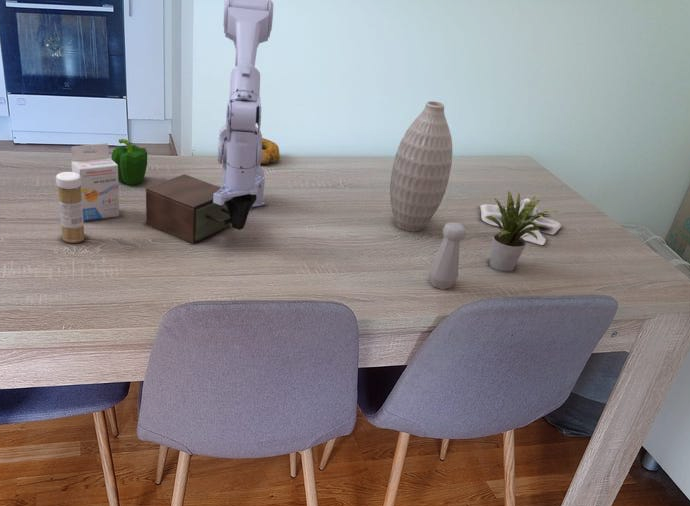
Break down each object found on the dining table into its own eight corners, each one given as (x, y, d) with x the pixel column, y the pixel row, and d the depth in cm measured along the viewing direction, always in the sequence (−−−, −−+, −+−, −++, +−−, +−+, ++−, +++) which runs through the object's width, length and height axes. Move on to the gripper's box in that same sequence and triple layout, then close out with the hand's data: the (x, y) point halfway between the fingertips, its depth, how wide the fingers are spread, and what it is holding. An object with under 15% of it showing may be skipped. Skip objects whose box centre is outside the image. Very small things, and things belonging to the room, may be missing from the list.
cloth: (464, 209, 178) (470, 186, 175) (521, 203, 186) (528, 181, 182) (522, 248, 162) (530, 223, 159) (582, 240, 170) (591, 216, 166)
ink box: (82, 222, 151) (77, 154, 142) (74, 213, 154) (69, 146, 145) (120, 216, 155) (117, 150, 146) (111, 207, 158) (108, 142, 150)
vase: (442, 223, 169) (471, 103, 153) (428, 242, 160) (457, 116, 143) (392, 210, 173) (415, 91, 157) (375, 228, 163) (398, 103, 147)
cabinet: (229, 226, 156) (231, 191, 151) (192, 243, 147) (193, 207, 143) (183, 208, 162) (184, 174, 157) (146, 224, 153) (145, 188, 148)
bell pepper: (155, 181, 173) (155, 141, 167) (132, 190, 167) (131, 148, 161) (129, 172, 176) (128, 132, 171) (106, 180, 170) (104, 139, 165)
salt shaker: (423, 276, 146) (437, 217, 138) (450, 277, 146) (465, 219, 139) (430, 290, 141) (445, 230, 134) (458, 291, 142) (474, 232, 134)
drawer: (248, 232, 153) (250, 203, 149) (216, 248, 145) (217, 218, 141) (187, 208, 160) (187, 180, 156) (153, 222, 152) (152, 192, 148)
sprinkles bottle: (82, 232, 146) (77, 170, 139) (87, 242, 143) (83, 178, 136) (59, 235, 145) (53, 171, 137) (64, 245, 141) (58, 180, 134)
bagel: (239, 162, 189) (240, 144, 186) (248, 149, 198) (249, 132, 195) (275, 168, 188) (277, 150, 185) (282, 155, 197) (284, 138, 194)
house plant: (523, 291, 145) (548, 217, 135) (460, 269, 150) (480, 196, 141) (542, 267, 155) (566, 197, 146) (482, 247, 160) (502, 178, 151)
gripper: (234, 178, 132) (231, 244, 140) (278, 160, 142) (273, 223, 150) (205, 168, 135) (204, 234, 143) (250, 151, 145) (246, 213, 153)
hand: (237, 227), depth 147 cm, fingers closed, pressing on drawer
